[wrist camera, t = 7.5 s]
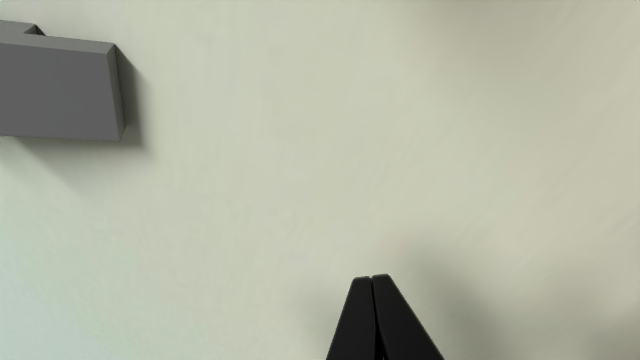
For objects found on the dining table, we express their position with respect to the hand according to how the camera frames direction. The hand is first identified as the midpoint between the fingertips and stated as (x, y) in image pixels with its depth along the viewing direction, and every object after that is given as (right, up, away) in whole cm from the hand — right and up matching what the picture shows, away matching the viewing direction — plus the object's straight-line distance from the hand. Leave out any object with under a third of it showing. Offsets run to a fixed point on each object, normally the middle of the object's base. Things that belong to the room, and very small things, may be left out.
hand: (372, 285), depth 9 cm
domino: (-12, +7, +12) cm, 18 cm away
